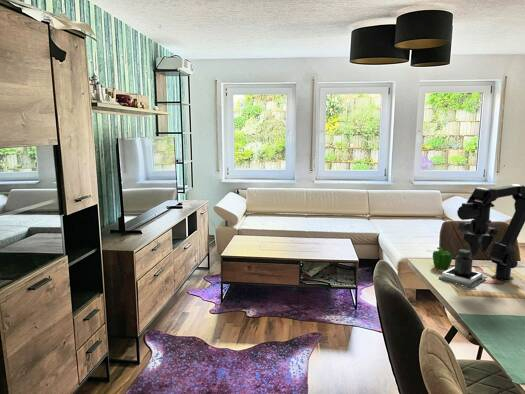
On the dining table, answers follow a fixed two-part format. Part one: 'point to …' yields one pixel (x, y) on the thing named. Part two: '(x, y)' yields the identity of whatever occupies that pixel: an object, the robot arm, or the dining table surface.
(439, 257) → the bell pepper
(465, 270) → the supplement bottle
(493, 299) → the dining table surface
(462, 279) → the gray square tray
